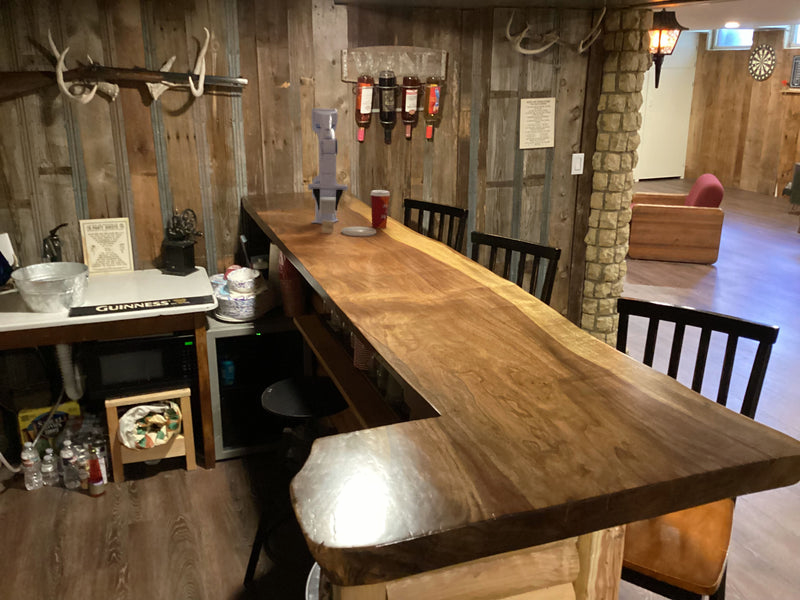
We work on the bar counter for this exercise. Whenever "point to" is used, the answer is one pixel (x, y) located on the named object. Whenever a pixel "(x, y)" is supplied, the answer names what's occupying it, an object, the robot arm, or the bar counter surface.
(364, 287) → the bar counter surface
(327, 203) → the grey open box
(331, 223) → the maple block
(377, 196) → the paper cup
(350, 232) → the ceramic dish
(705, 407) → the bar counter surface
